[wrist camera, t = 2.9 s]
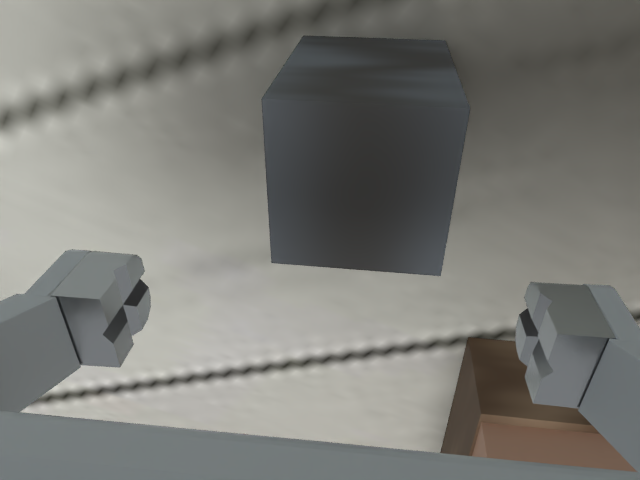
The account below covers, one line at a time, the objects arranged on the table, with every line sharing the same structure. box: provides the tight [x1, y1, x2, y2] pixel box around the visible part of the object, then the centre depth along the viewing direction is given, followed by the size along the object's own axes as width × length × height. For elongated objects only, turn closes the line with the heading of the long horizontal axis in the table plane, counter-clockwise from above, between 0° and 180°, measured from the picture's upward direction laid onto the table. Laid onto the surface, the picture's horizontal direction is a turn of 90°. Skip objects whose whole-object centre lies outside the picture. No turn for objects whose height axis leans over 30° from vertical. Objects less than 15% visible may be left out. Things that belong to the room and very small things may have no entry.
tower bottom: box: [441, 337, 600, 456], centre depth 26 cm, size 13×13×5 cm
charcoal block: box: [262, 36, 470, 276], centre depth 16 cm, size 5×5×7 cm
